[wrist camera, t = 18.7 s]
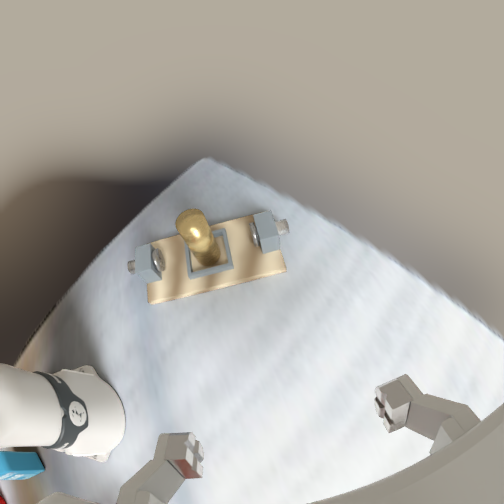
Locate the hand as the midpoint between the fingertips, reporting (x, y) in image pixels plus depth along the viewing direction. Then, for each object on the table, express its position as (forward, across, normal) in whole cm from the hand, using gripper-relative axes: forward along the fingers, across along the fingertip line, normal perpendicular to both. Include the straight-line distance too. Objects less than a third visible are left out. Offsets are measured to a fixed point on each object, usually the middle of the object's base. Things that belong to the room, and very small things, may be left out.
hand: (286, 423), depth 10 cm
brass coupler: (+38, +7, +1) cm, 39 cm away
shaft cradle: (+39, +7, +2) cm, 40 cm away
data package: (+11, +59, +30) cm, 67 cm away
